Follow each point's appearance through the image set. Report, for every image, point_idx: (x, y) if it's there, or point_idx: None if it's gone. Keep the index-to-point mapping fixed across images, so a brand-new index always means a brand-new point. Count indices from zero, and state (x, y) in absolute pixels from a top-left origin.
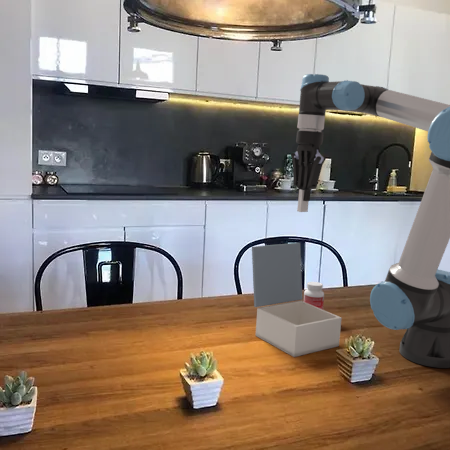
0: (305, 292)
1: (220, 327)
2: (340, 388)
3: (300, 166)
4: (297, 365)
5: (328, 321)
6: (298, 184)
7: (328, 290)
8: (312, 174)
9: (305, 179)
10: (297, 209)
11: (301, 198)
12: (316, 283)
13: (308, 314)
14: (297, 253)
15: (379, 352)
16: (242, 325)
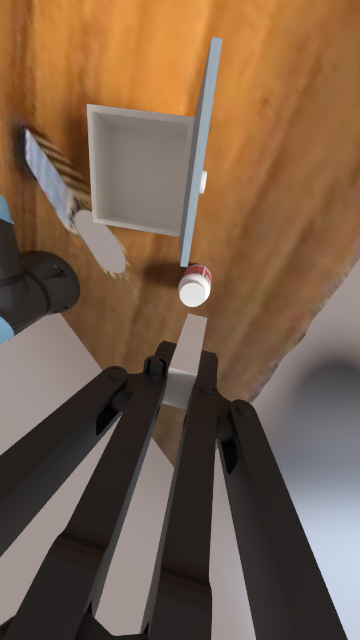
0: (201, 277)
1: (266, 98)
2: (15, 95)
3: (189, 559)
4: (87, 100)
5: (91, 191)
6: (209, 400)
7: (253, 385)
8: (37, 436)
9: (134, 415)
10: (206, 321)
11: (179, 341)
12: (191, 298)
13: (159, 226)
14: (181, 249)
15: (78, 246)
16: (245, 150)
